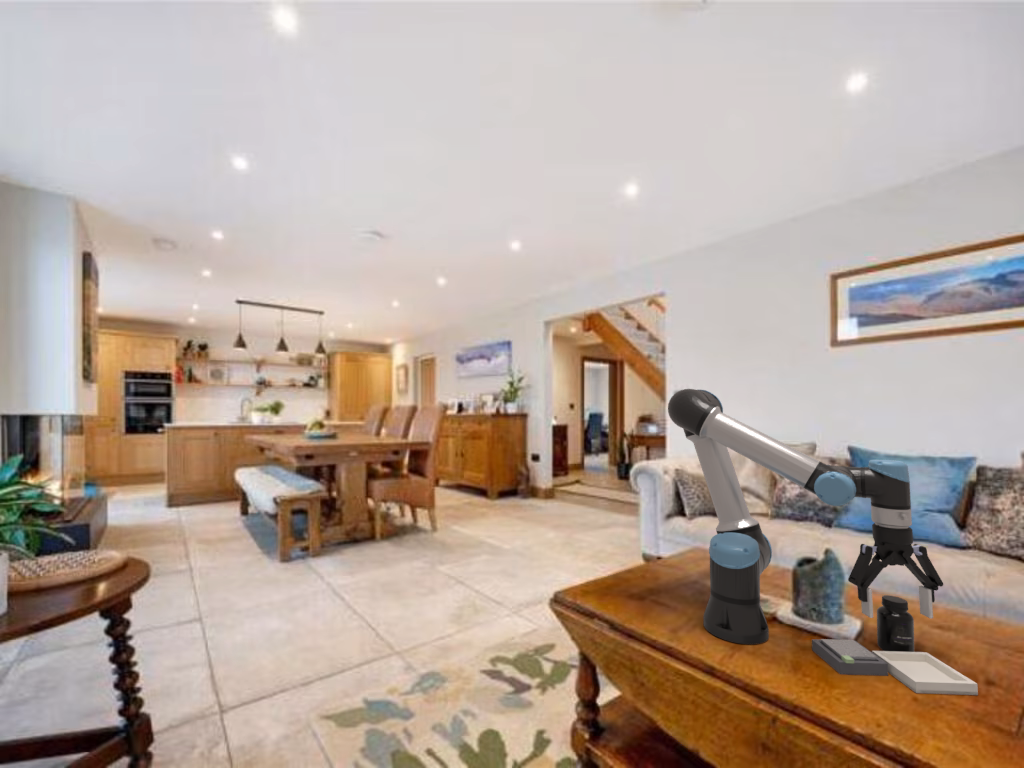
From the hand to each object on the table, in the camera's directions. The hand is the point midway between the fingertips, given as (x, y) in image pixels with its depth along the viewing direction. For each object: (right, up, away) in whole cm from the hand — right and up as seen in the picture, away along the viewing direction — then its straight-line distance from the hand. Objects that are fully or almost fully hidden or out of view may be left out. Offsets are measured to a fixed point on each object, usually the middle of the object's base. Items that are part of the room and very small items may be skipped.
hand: (897, 615), depth 110 cm
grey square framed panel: (-16, -8, -5) cm, 18 cm away
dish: (-4, -8, -11) cm, 14 cm away
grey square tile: (-16, -6, -5) cm, 18 cm away
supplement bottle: (0, -8, 0) cm, 8 cm away
